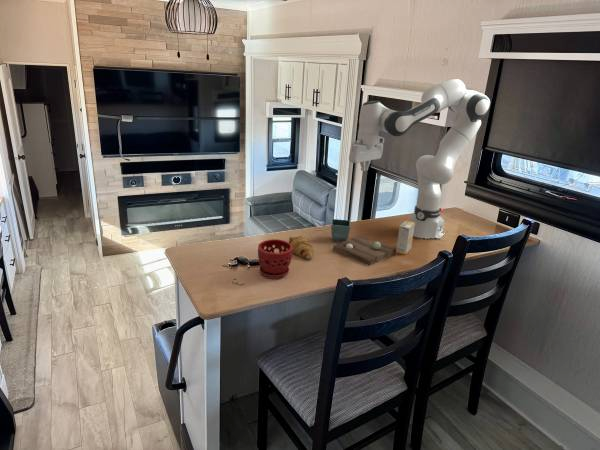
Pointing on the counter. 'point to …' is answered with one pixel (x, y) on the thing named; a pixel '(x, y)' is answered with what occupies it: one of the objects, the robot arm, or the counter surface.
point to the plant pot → (274, 258)
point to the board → (363, 250)
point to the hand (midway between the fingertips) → (364, 170)
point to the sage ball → (377, 245)
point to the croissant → (301, 247)
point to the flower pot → (340, 229)
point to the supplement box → (405, 237)
